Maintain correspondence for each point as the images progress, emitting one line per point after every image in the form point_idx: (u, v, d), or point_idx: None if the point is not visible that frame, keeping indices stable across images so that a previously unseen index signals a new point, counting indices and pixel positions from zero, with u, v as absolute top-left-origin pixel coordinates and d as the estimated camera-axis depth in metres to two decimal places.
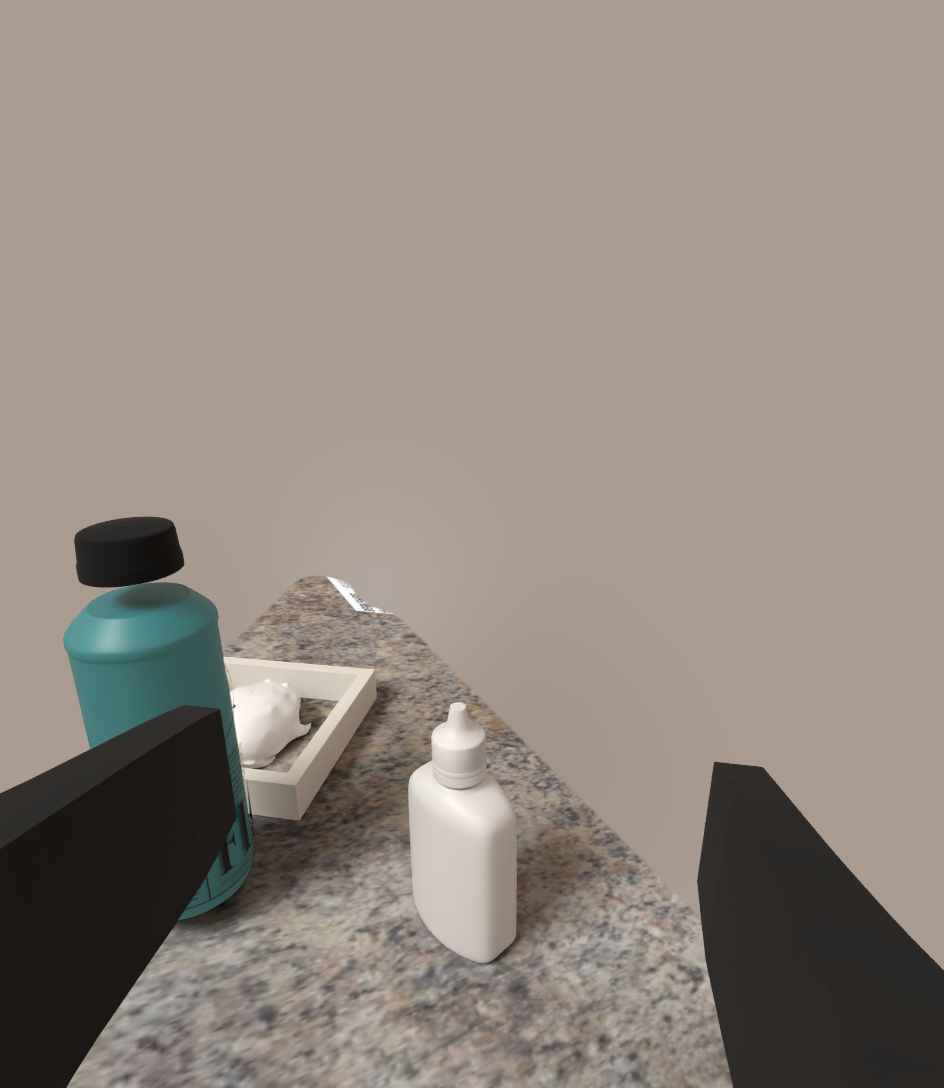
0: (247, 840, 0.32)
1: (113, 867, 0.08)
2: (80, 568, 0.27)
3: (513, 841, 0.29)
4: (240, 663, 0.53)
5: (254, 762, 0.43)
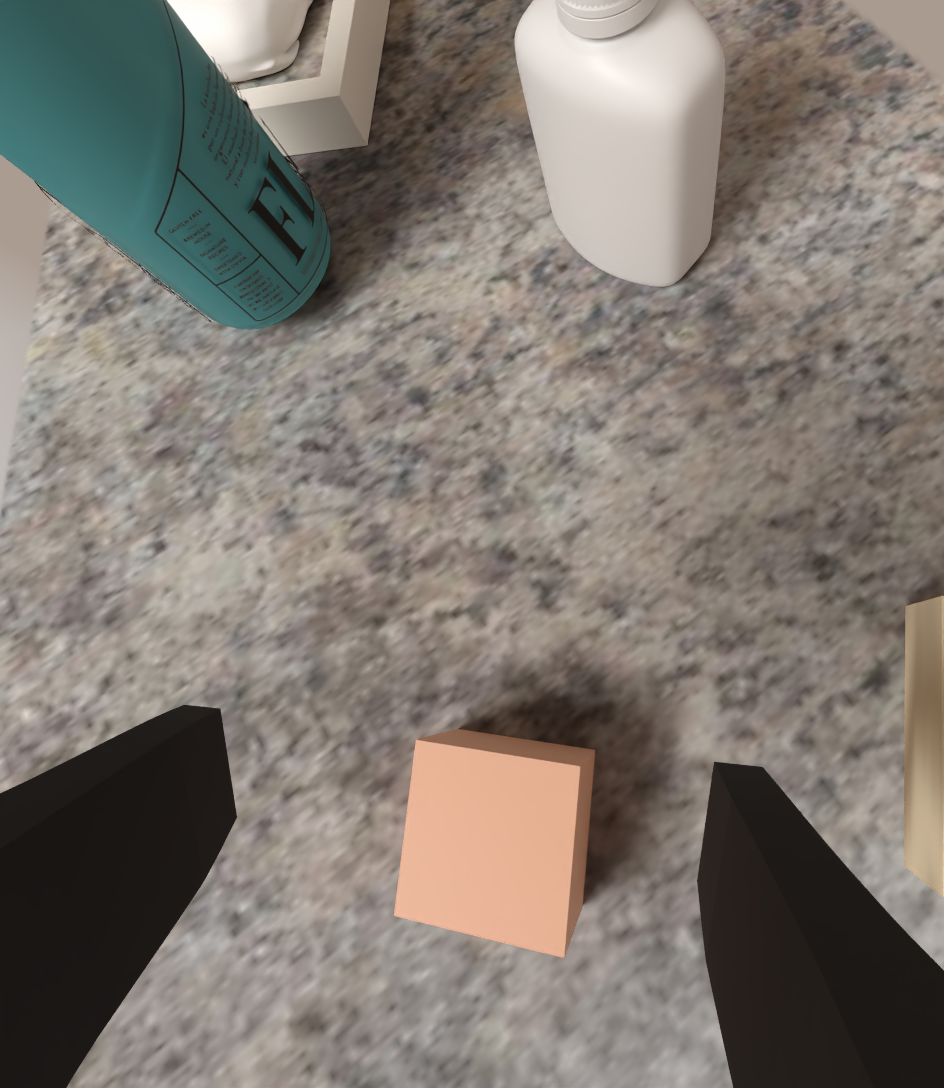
0: (306, 207, 0.23)
1: (112, 867, 0.08)
2: None
3: (719, 108, 0.16)
4: None
5: (273, 62, 0.29)
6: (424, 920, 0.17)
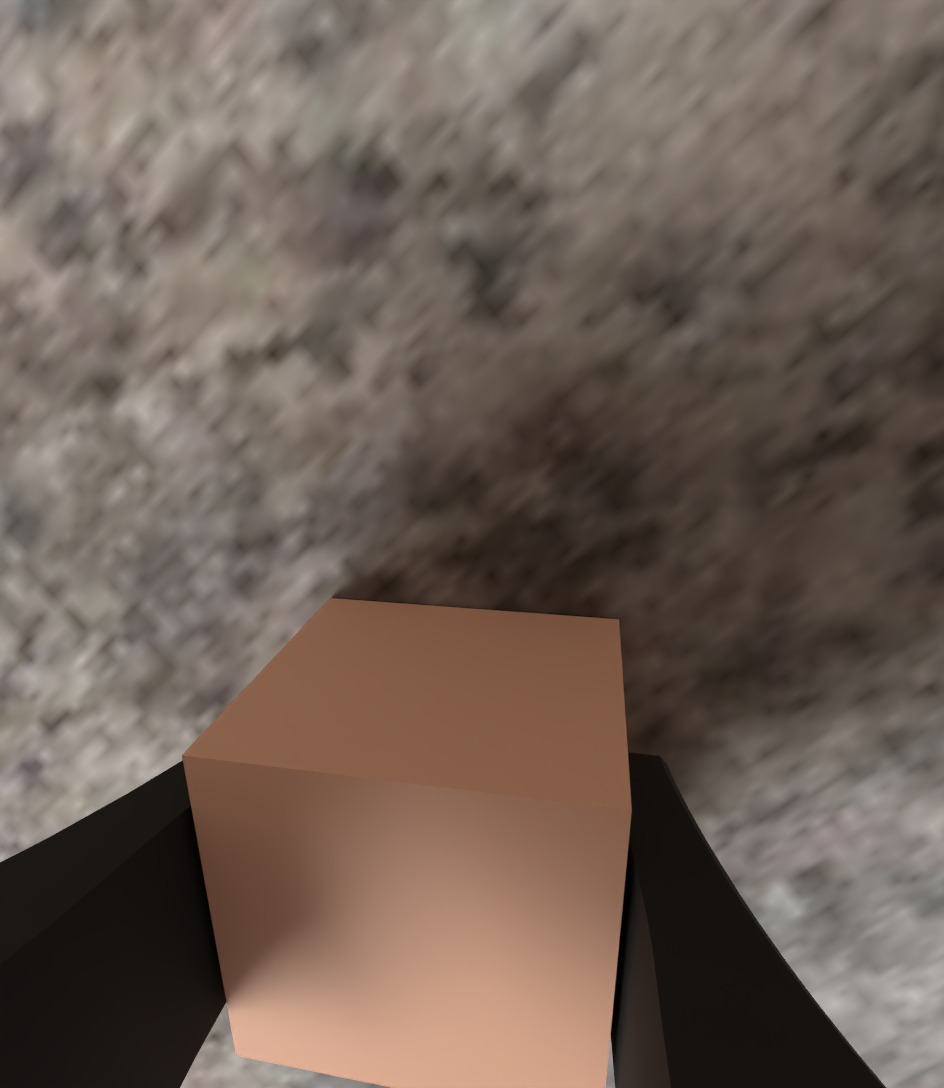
0: None
1: None
2: None
3: None
4: None
5: None
6: (299, 1064, 0.08)
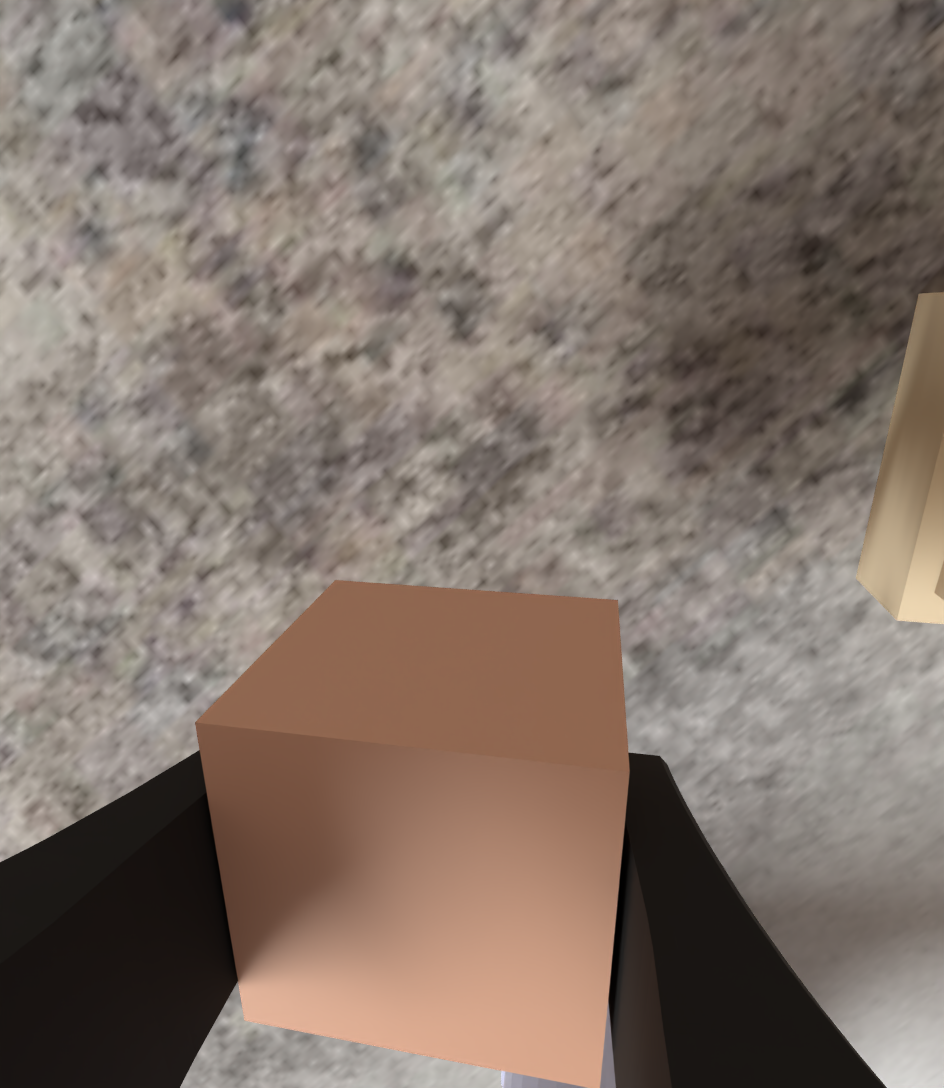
0: None
1: (210, 882, 0.08)
2: None
3: None
4: None
5: None
6: (306, 1028, 0.08)
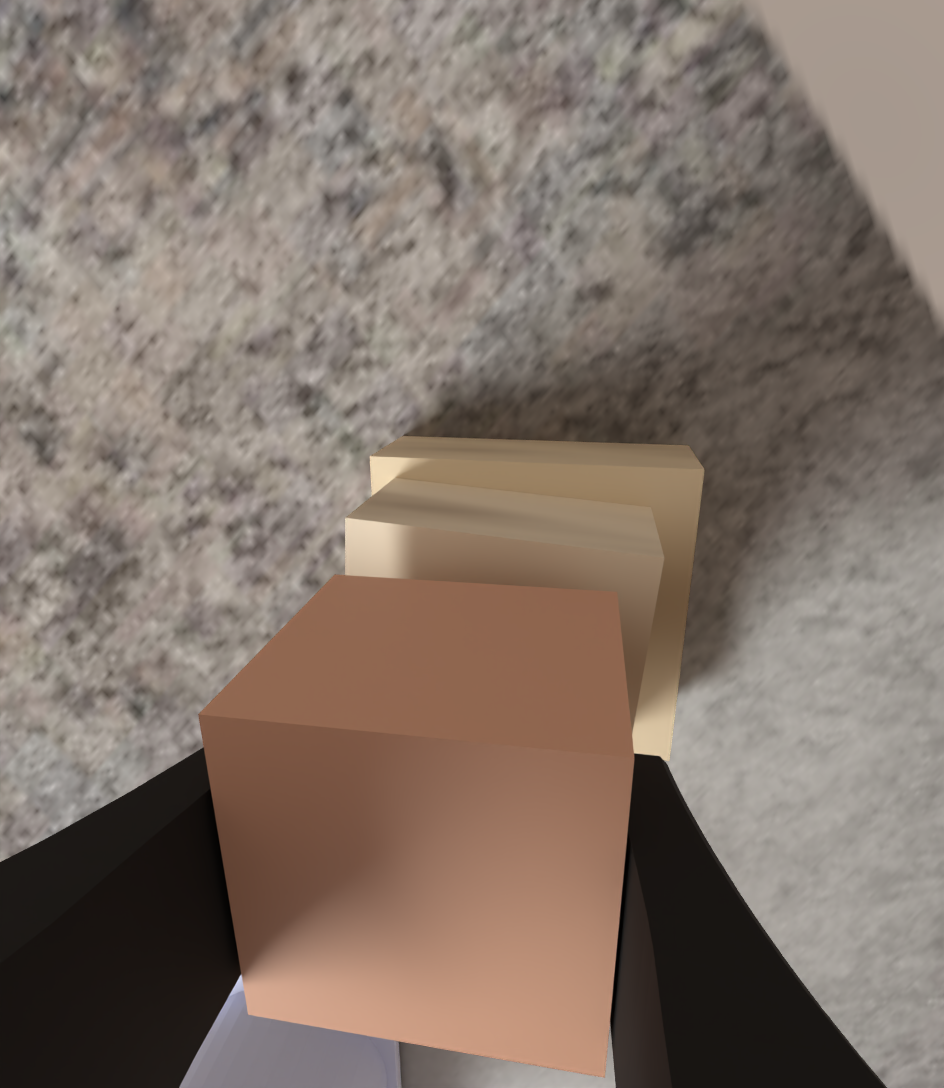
0: None
1: (210, 882, 0.08)
2: None
3: None
4: None
5: None
6: (310, 1021, 0.08)
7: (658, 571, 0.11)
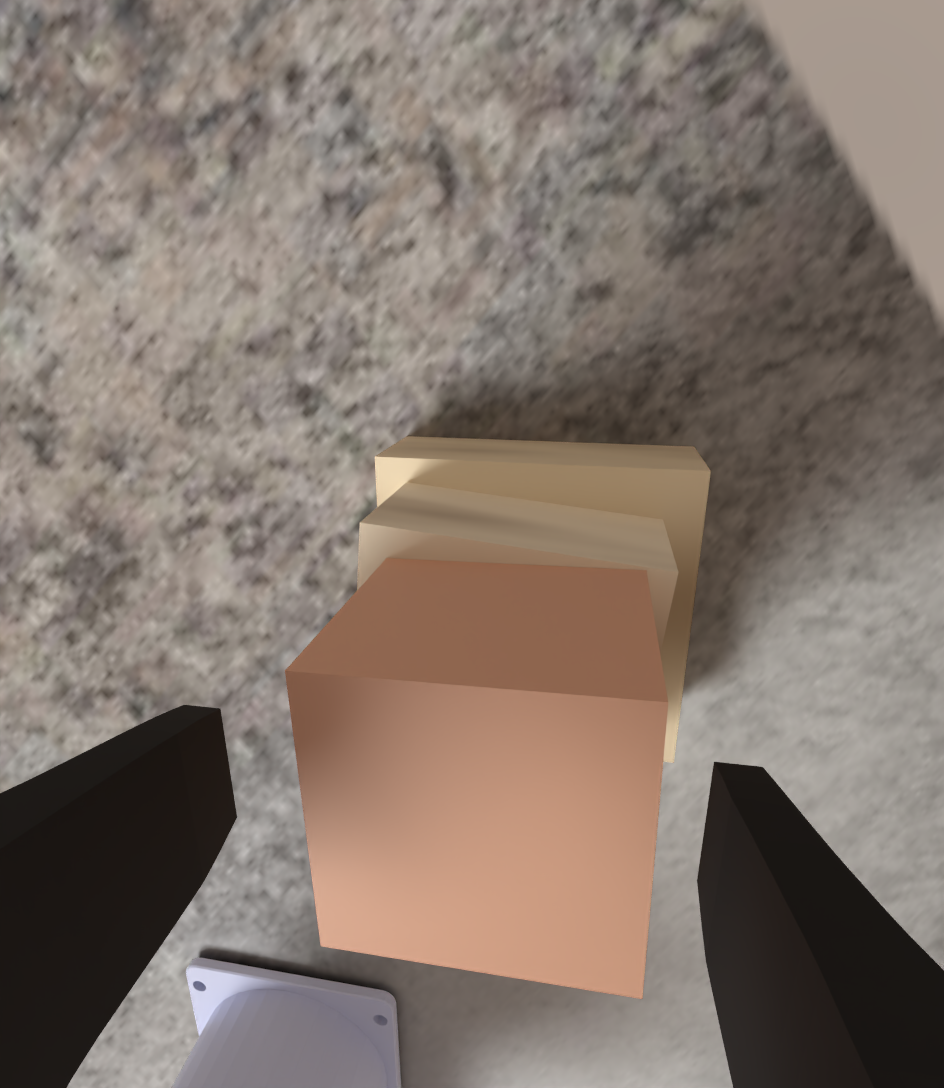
0: None
1: (113, 866, 0.08)
2: None
3: None
4: None
5: None
6: (376, 951, 0.09)
7: (672, 585, 0.11)
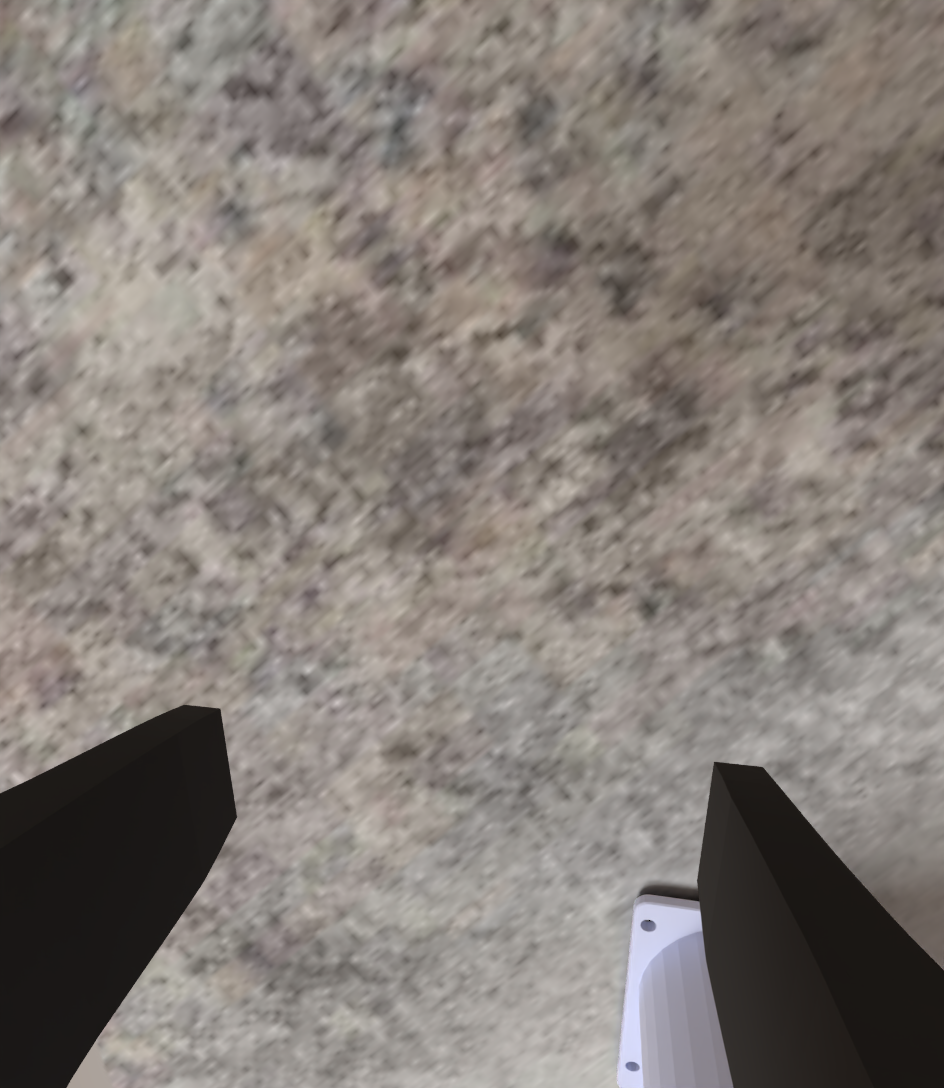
0: None
1: (113, 866, 0.08)
2: None
3: None
4: None
5: None
6: None
7: None
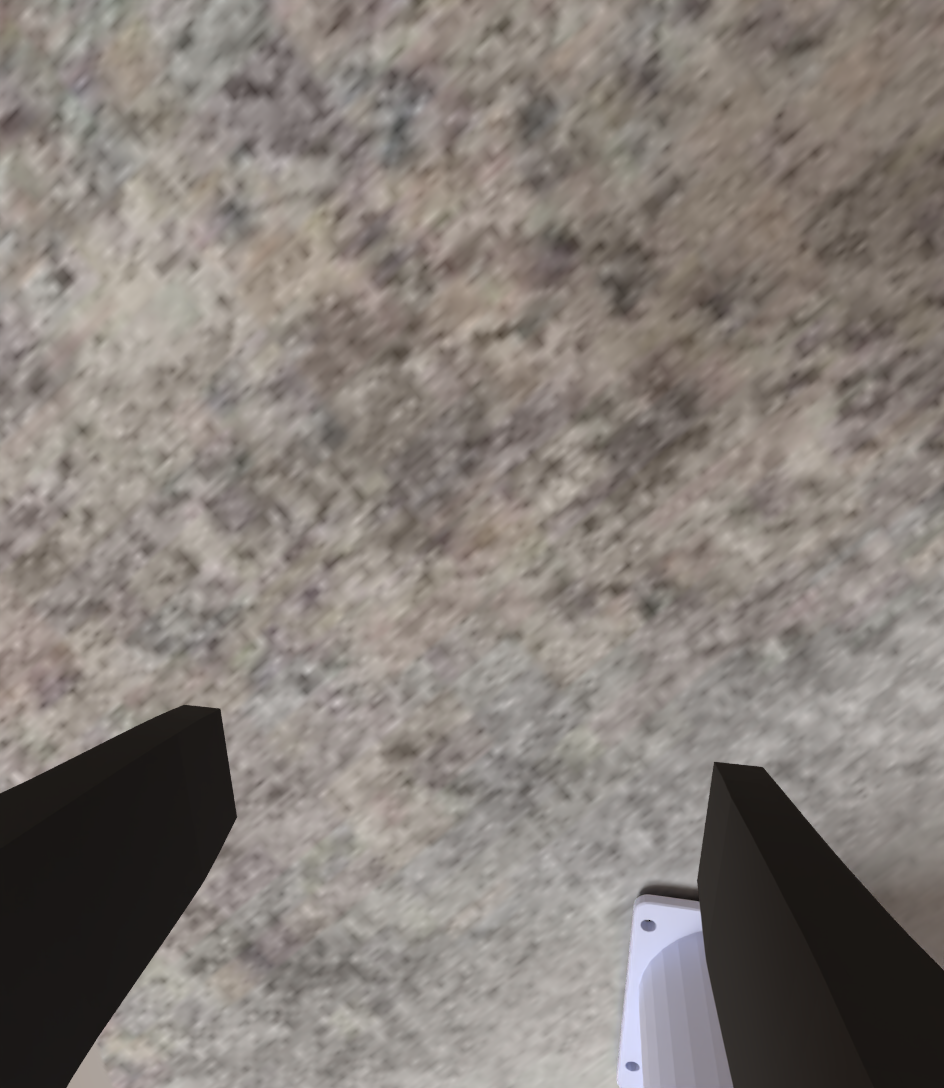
0: None
1: (113, 866, 0.08)
2: None
3: None
4: None
5: None
6: None
7: None
